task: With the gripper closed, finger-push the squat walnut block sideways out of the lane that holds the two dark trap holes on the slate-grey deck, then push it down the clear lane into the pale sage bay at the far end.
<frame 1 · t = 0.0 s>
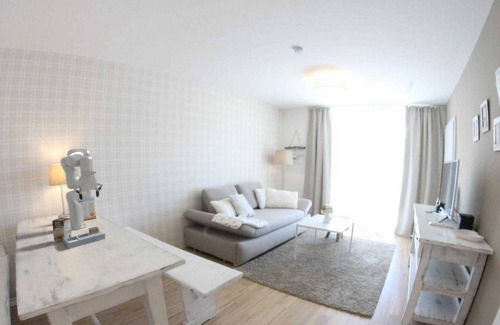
hand: (89, 198, 168), 31 cm above the table, fingers open, 9 cm apart
deck: (84, 240, 171), on the table
block: (94, 232, 178), point 3 cm above the table, touching deck
white glue bottle: (87, 219, 223), on the table
coffee box: (63, 241, 173), on the table
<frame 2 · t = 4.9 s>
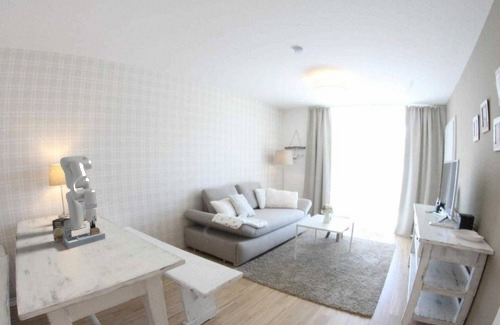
hand: (93, 230, 180), 5 cm above the table, fingers closed
block: (94, 233, 177), point 3 cm above the table, touching deck
everything else where it was.
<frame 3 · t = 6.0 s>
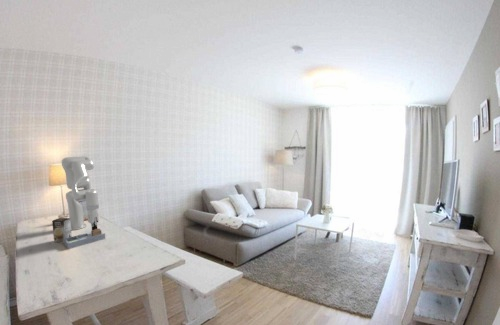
hand: (94, 231, 177), 4 cm above the table, fingers closed
block: (96, 234, 174), point 3 cm above the table, touching deck, gripper
everything else where it was.
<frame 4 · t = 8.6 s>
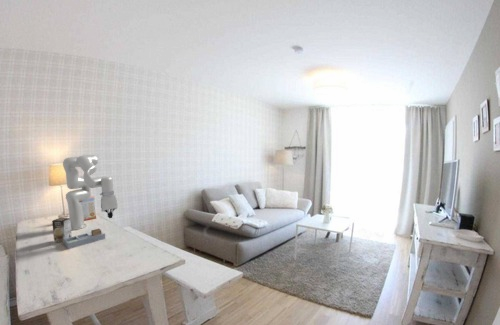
hand: (110, 217, 179), 14 cm above the table, fingers closed
block: (96, 234, 174), point 3 cm above the table, touching deck
everything else where it was.
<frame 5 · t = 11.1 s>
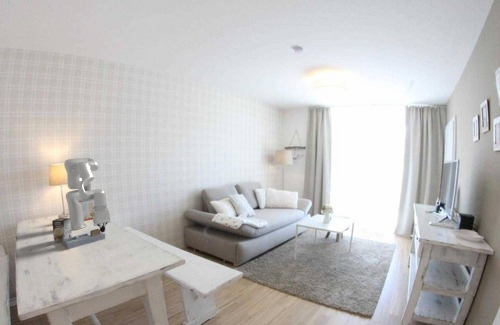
hand: (102, 231, 176), 4 cm above the table, fingers closed
block: (95, 235, 174), point 3 cm above the table
everything else where it was.
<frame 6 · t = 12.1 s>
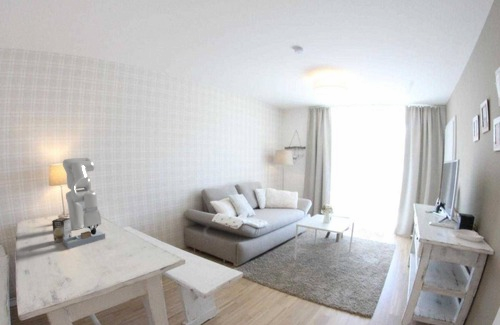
hand: (93, 234, 172), 4 cm above the table, fingers closed
block: (86, 237, 169), point 3 cm above the table, touching deck, gripper
everything else where it was.
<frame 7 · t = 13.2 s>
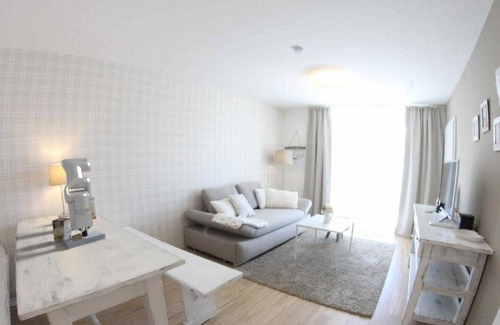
hand: (84, 236, 168), 4 cm above the table, fingers closed
block: (77, 239, 166), point 3 cm above the table, tilted 7°, touching gripper
everything else where it was.
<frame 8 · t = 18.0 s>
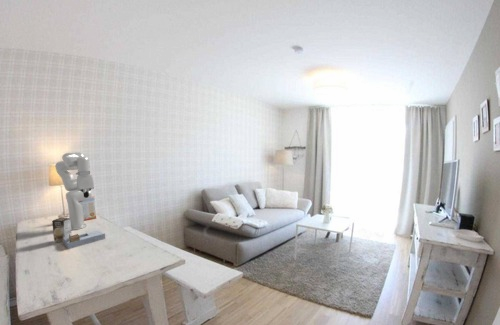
hand: (86, 197, 181), 29 cm above the table, fingers closed
block: (75, 240, 164), point 3 cm above the table, touching deck
everything else where it was.
at the end: block 1.1 cm from the target spot on the deck, point 2.8 cm above the deck's base; block tilted 5° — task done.
